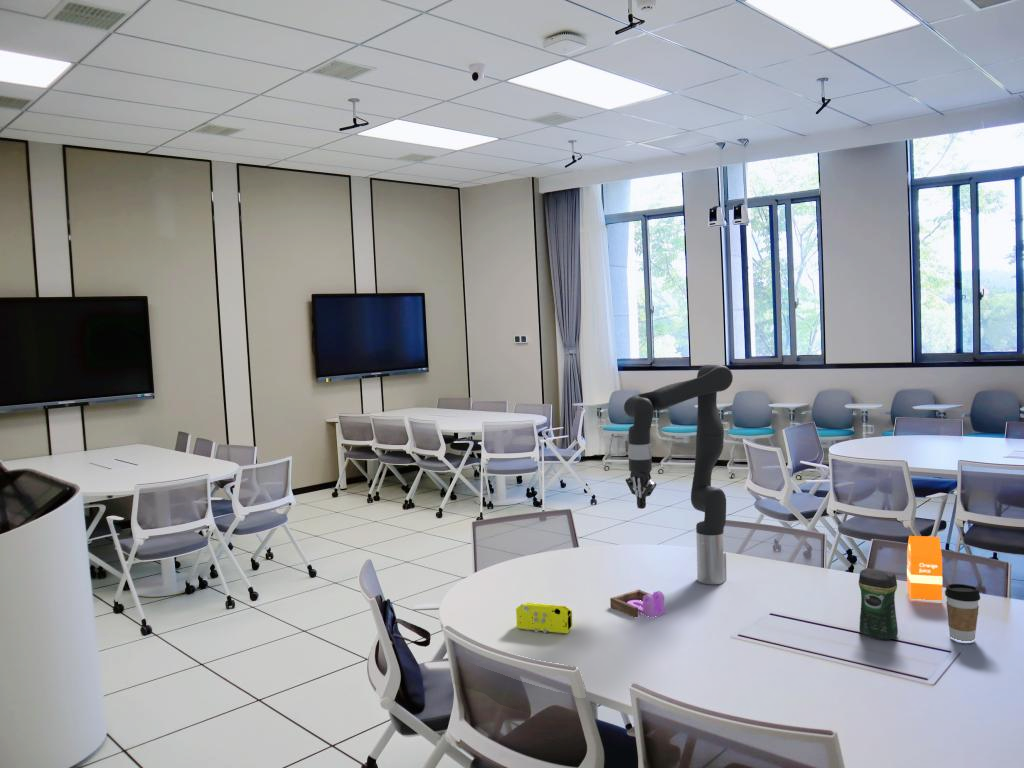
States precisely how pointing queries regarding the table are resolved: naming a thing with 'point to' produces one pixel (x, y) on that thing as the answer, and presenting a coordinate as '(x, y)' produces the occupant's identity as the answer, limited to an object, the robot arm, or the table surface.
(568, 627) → the yellow toy chassis
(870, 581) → the coffee jar
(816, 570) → the table surface
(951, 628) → the coffee cup
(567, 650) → the table surface
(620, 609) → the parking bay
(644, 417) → the robot arm
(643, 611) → the bracket
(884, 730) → the table surface
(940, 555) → the orange juice
